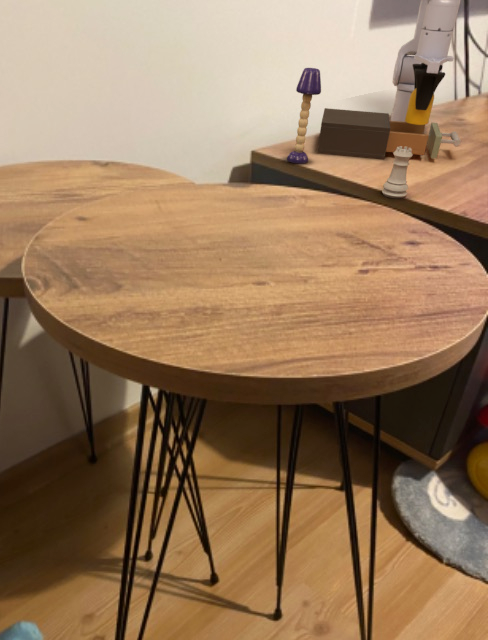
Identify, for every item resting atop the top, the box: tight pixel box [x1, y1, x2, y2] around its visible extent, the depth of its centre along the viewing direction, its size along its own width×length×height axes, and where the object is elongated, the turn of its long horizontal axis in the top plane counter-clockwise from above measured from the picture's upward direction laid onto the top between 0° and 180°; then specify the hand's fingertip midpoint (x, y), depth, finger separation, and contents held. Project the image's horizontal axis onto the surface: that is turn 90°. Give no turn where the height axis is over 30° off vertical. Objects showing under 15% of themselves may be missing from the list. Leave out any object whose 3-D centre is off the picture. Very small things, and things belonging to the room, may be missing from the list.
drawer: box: [386, 120, 462, 160], centre depth 136 cm, size 17×11×4 cm
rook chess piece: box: [381, 146, 414, 199], centre depth 114 cm, size 4×4×8 cm
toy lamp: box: [286, 67, 322, 165], centre depth 126 cm, size 5×5×17 cm
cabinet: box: [316, 107, 391, 160], centre depth 138 cm, size 14×13×6 cm
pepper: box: [405, 89, 435, 126], centre depth 130 cm, size 5×5×7 cm
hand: (420, 106), depth 131 cm, fingers closed on pepper, 4 cm apart
